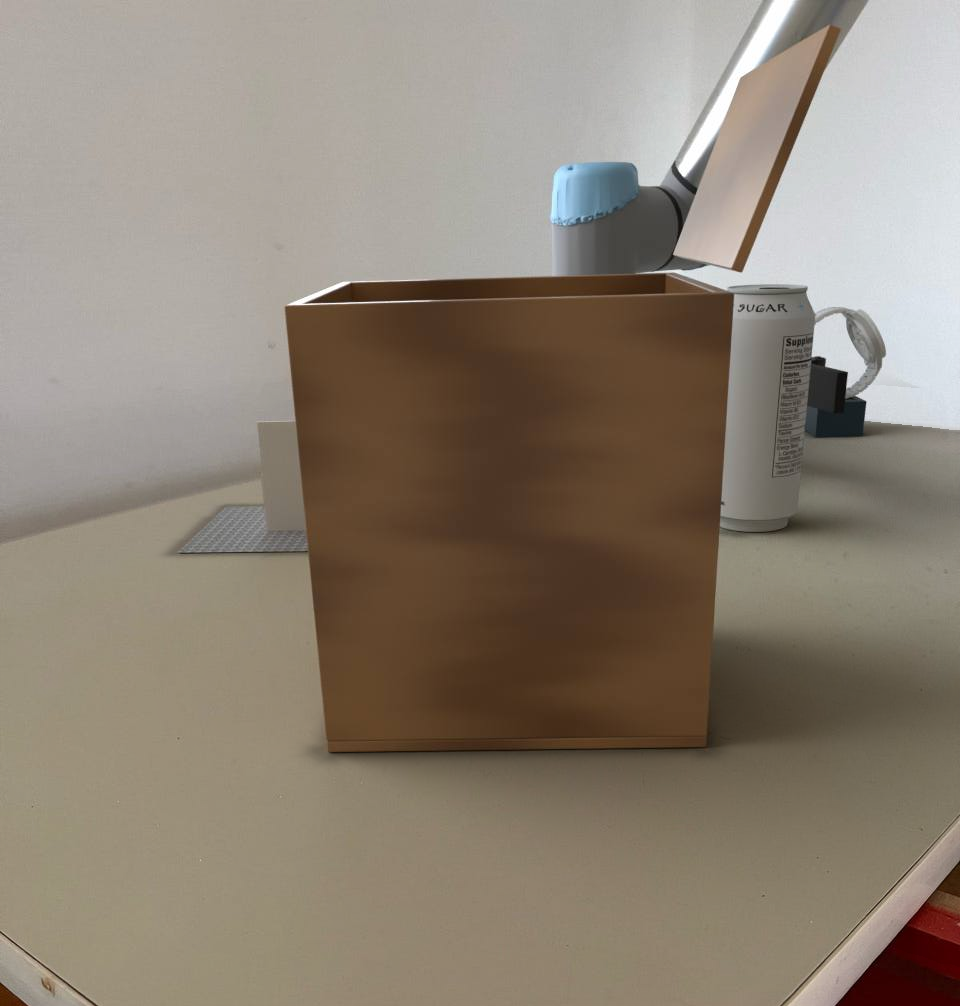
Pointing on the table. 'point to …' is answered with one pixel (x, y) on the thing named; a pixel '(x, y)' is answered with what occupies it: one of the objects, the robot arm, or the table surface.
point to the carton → (513, 507)
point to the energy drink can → (766, 405)
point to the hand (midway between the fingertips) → (747, 399)
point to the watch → (853, 417)
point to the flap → (753, 153)
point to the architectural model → (282, 498)
